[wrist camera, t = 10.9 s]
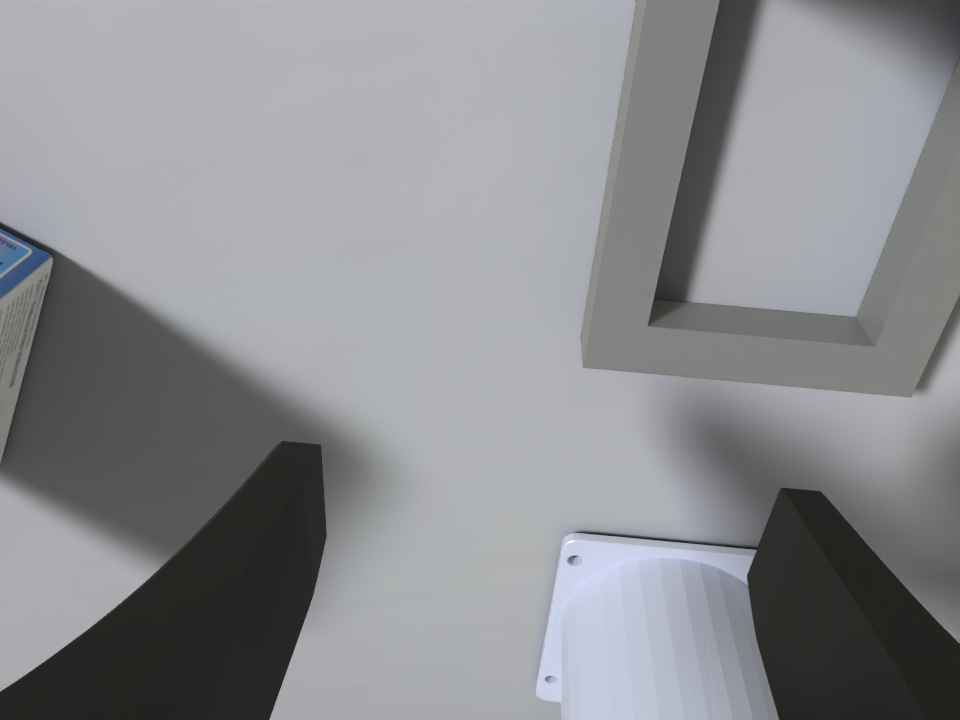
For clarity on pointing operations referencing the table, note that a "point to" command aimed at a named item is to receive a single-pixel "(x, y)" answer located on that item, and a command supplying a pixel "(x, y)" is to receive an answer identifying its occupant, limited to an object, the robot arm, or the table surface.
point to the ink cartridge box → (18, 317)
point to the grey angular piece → (750, 331)
